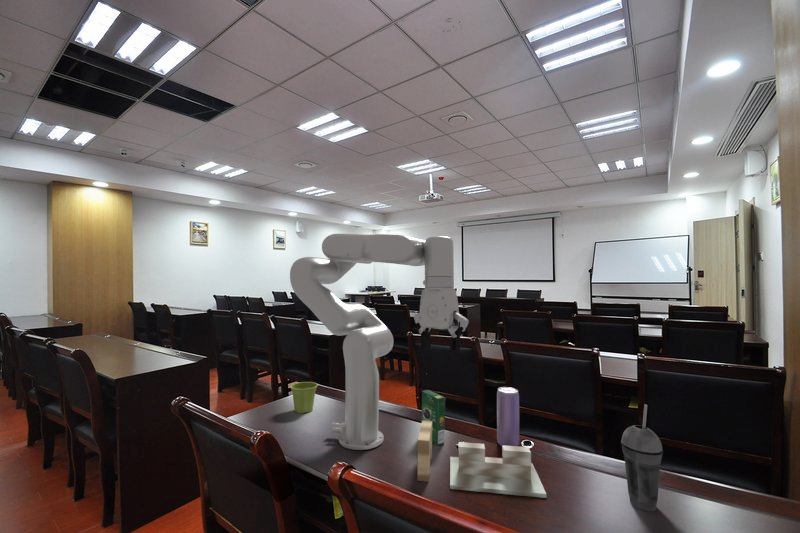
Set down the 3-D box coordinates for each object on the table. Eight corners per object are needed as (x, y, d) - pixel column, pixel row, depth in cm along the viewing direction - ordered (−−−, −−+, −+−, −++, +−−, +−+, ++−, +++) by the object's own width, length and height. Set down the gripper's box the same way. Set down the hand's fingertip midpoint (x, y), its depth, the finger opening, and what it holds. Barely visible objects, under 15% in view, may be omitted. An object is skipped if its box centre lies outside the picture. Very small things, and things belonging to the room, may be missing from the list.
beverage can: (520, 450, 96) (520, 393, 97) (497, 447, 97) (497, 392, 98) (517, 440, 102) (517, 387, 103) (496, 438, 103) (496, 386, 104)
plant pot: (284, 414, 120) (285, 388, 120) (296, 405, 129) (297, 381, 130) (311, 416, 119) (311, 389, 119) (321, 406, 128) (321, 382, 128)
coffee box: (445, 444, 99) (446, 396, 100) (437, 446, 97) (438, 398, 98) (428, 433, 106) (428, 389, 106) (420, 436, 104) (421, 390, 105)
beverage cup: (613, 494, 76) (611, 399, 77) (645, 493, 76) (643, 398, 77) (639, 516, 68) (637, 411, 70) (674, 515, 69) (671, 410, 70)
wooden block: (428, 481, 80) (429, 440, 80) (417, 480, 80) (417, 439, 81) (431, 456, 92) (432, 421, 92) (421, 455, 92) (422, 420, 92)
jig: (450, 488, 77) (450, 456, 77) (450, 459, 90) (450, 432, 90) (546, 497, 74) (546, 464, 75) (532, 466, 87) (532, 438, 87)
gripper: (405, 284, 96) (405, 348, 95) (457, 283, 83) (458, 357, 82) (424, 284, 101) (424, 345, 100) (475, 283, 89) (476, 353, 87)
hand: (439, 350), depth 91 cm, fingers open, 9 cm apart
